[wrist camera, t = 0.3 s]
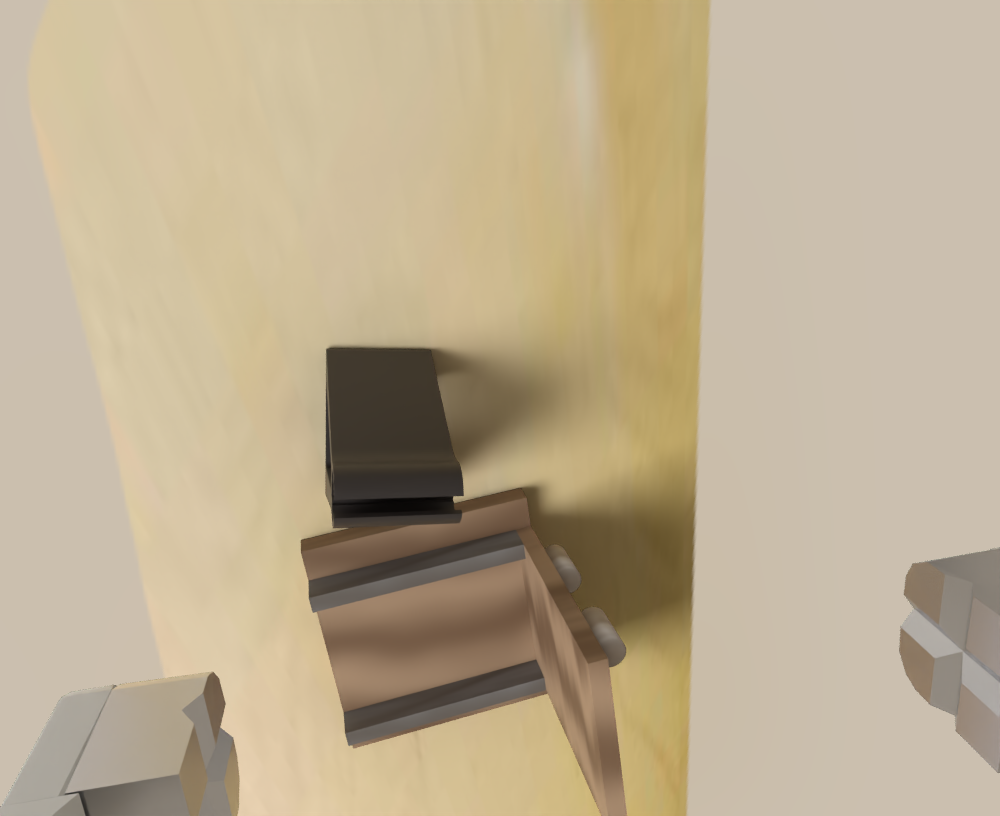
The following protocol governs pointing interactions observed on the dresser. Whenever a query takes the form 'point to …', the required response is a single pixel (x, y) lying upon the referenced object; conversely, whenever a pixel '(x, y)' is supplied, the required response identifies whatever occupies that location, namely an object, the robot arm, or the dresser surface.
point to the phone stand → (388, 441)
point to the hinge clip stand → (465, 631)
